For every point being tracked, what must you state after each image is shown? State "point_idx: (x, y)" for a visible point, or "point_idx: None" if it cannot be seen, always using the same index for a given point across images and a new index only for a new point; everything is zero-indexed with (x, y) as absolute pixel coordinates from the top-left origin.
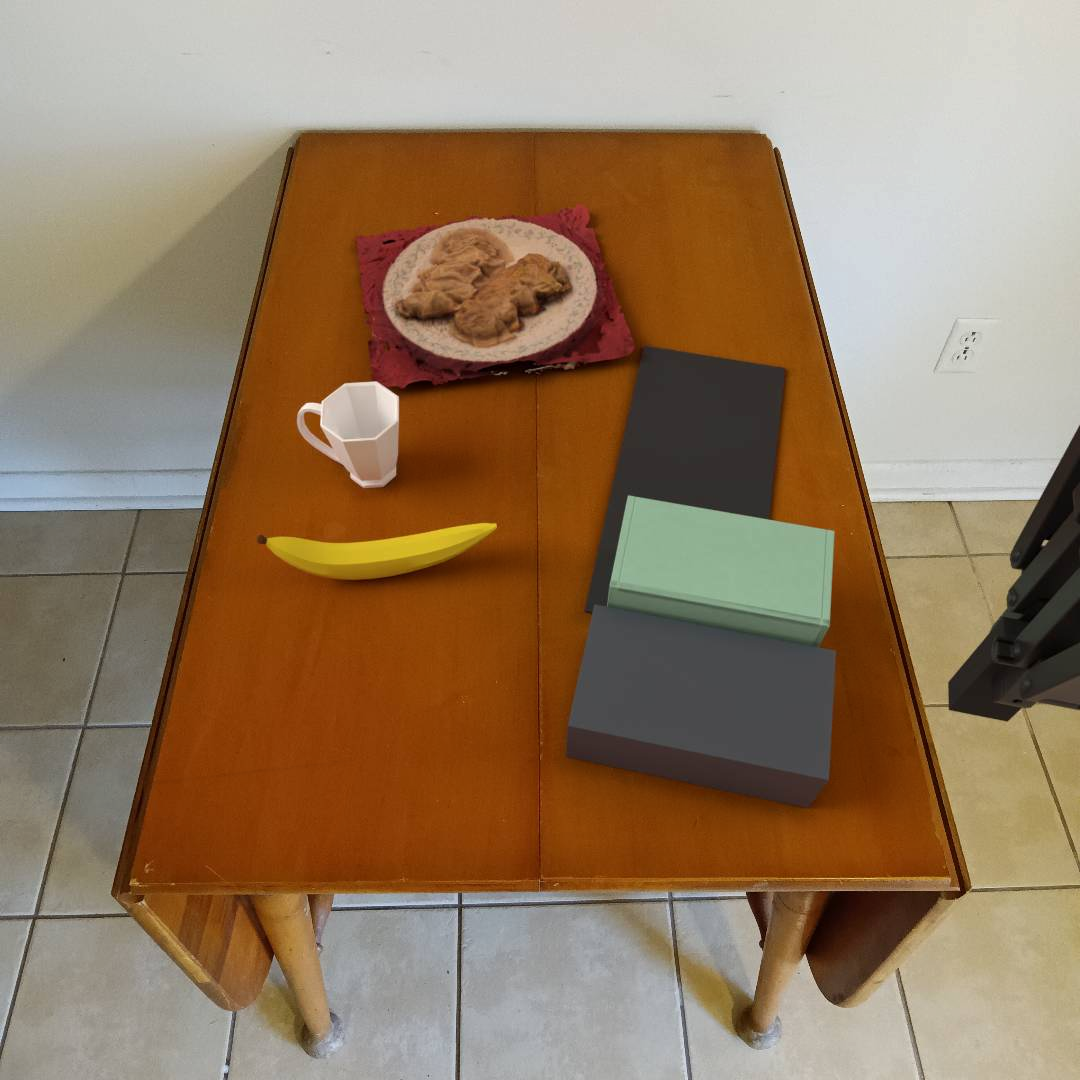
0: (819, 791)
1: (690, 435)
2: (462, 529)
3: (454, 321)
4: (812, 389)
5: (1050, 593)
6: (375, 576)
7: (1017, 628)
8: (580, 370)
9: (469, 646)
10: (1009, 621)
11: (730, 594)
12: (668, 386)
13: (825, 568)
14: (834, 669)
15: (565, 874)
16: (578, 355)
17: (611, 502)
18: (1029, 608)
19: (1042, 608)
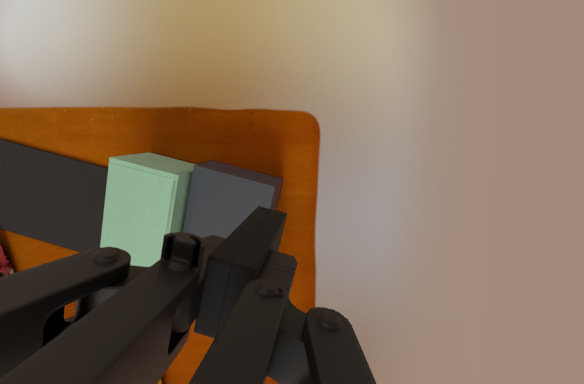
0: (278, 183)
1: (52, 206)
2: None
3: None
4: (6, 121)
5: (160, 360)
6: (160, 381)
7: (210, 320)
8: (14, 263)
9: (197, 336)
10: (200, 325)
11: (160, 232)
12: (18, 214)
13: (137, 169)
14: (206, 168)
15: (314, 302)
16: (2, 268)
17: None
18: (183, 329)
19: (182, 319)
